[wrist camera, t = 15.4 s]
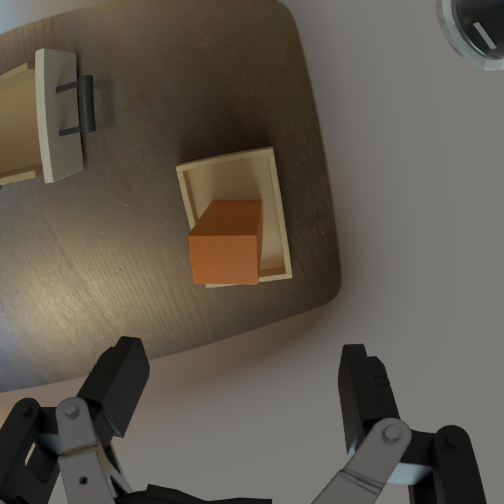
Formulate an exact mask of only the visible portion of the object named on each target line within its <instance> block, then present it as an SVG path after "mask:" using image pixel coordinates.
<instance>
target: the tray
mask: <svg viewBox="0 0 504 504" xmlns="http://www.w3.org/2000/svg"><path fill="white" fill-rule="evenodd" d="M176 171H177V175H178V179H179V184H180V188H181V192H182V196H183V200H184V204H185V209H186V213H187V217H188V221H189V224H190V228H191V230H192V229H193V227H194V226H195V224H196V223H197V221H198V220H199V219H200V217H201V216H202V214H203V213H204V211H205V210H206V208H207V207H208V205H209V204H210V203H211V201H221V200H262V218H263V242H262V253H261V263H260V273H259V282H263V281H271V280H279V279H287V278H292V277H293V276H292V266H291V259H290V252H289V245H288V238H287V231H286V225H285V218H284V211H283V205H282V198H281V192H280V186H279V180H278V173H277V167H276V161H275V155H274V150H273V146H270V147H264V148H258V149H252V150H246V151H240V152H234V153H229V154H223V155H218V156H213V157H208V158H203V159H198V160H193V161H189V162H184V163H181V164H179V165H177V166H176ZM205 285H206V288H212V287H221V286H229V285H238V284H205Z"/></svg>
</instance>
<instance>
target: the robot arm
mask: <svg viewBox="0 0 504 504" xmlns="http://www.w3.org/2000/svg"><path fill="white" fill-rule="evenodd" d="M452 15H453V19H454V22H455V25H456V27H457V29H458V31H459V33H460V35H461V36H462V38H463V39H464V41H465V42H466V43H467V44H468V45H469V46H470V47H471V48H472V49H473V50H474V51H475V52H476V53H478V54H479V55H481V56H482V57H484V58H487V59H490V60H500V59H504V0H453V1H452ZM149 373H150V366H149V362H148V359H147V356H146V353H145V350H144V347H143V344H142V341H141V339H140V338H136V337H127V336H122V337H121V338H120V339H119V341H118V342H117V344H116V346H115V347H110V348H109V349H107V350H106V351H105V352H104V353H102V355H101V356H100V358H99V359H98V361H97V363H96V365H95V366H94V367H93V369H92V372H90V374H89V376H88V378H87V379H86V381H85V382H84V384H83V386H82V387H81V389H80V391H79V392H78V394H77V396H76V397H71V398H67V399H65V400H63V401H62V402H61V403H60V404H59V405H58V406H57V407H41V406H40V405H39V403H38V402H37V401H36V400H35V399H33V398H24V399H22V400H20V401H18V402H17V403H16V404H15V406H14V407H13V409H12V410H11V412H10V414H9V415H8V417H7V419H6V420H5V422H4V424H3V426H2V427H1V429H0V504H48V501H49V499H50V496H51V493H52V490H53V488H54V485H55V483H56V480H57V477H58V475H59V473H60V472H61V476H62V480H63V484H64V488H65V492H66V495H67V499H68V503H69V504H272V499H256V498H233V499H225V500H215V501H205V500H201V499H199V498H196V497H194V496H191V495H189V494H186V493H183V492H181V491H179V490H176V489H171V488H165V487H161V486H156V485H151V484H148V486H147V489H146V490H144V491H136V492H133V490H132V489H131V487H130V485H129V484H128V482H127V480H126V478H125V476H124V474H123V471H122V469H121V466H120V464H119V461H118V459H117V456H116V453H115V451H114V448H113V445H112V443H111V439H112V437H113V436H117V437H121V438H123V437H124V434H125V432H126V430H127V427H128V425H129V422H130V420H131V418H132V415H133V413H134V411H135V408H136V406H137V403H138V401H139V399H140V397H141V394H142V392H143V389H144V387H145V385H146V383H147V380H148V378H149ZM338 389H339V396H340V402H341V410H342V417H343V425H344V432H345V441H346V449H347V455H353V456H352V457H351V459H350V460H349V462H348V463H347V464H346V465H345V467H344V468H343V469H342V470H339V472H337V474H336V475H335V476H334V477H333V478H332V480H331V481H330V482H329V483H328V485H327V486H326V487H325V488H324V489H323V491H322V492H321V493H320V494H319V495H318V496H317V497H316V498H315V500H314V501H313V502H312V503H311V504H374V502H375V501H376V499H377V498H378V496H379V495H380V493H381V492H382V490H383V487H384V486H385V484H386V482H390V483H399V484H406V485H408V490H409V499H410V504H487V503H486V499H485V494H484V490H483V486H482V481H481V478H480V473H479V470H478V466H477V462H476V458H475V455H474V451H473V448H472V445H471V441H470V438H469V436H468V434H467V432H466V431H465V430H464V429H462V428H461V427H458V426H455V425H448V426H444V427H442V428H441V429H439V430H438V431H437V433H427V432H419V431H415V430H412V429H410V428H409V426H408V425H407V424H406V423H405V422H403V421H402V420H401V419H400V417H399V413H398V409H397V406H396V403H395V399H394V396H393V392H392V389H391V386H390V382H389V379H388V378H387V373H386V369H385V366H384V365H383V363H382V362H381V361H380V360H379V359H378V358H377V357H376V356H372V357H367V354H366V350H365V347H364V345H363V344H347V345H344V346H343V350H342V355H341V361H340V366H339V372H338ZM33 443H34V444H35V445H36V446H35V448H34V450H33V452H32V454H31V456H30V458H29V461H28V463H27V465H25V459H26V457H27V455H28V452H29V450H30V448H31V446H32V444H33Z"/></svg>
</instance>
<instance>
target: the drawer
mask: <svg viewBox="0 0 504 504" xmlns="http://www.w3.org/2000/svg"><path fill="white" fill-rule="evenodd" d="M77 87H78V88H79V107H80V121H81V126H79V117H78V102H77ZM93 131H96V127H95V115H94V99H93V76H92V75H85V76H81V77H79V78H78V80H77V79H76V53H73V52H68V51H62V50H56V49H50V48H42V49H40V50H38V51H36V53H35V63H32V62H27V63H25V64H22V65H20V66H18V67H16V68H14V69H12V70H10V71H8V72H6V73H4V74H2V75H1V76H0V185H3V184H8V183H12V182H17V181H22V180H27V179H32V178H36V177H39V176H41V175H44V180H45V183H50V182H55V181H57V180H59V179H62V178H64V177H67V176H69V175H72V174H74V173H77V172H79V171H82V170H84V165H83V157H82V148H81V139H80V132H82V134H83V133H88V132H93Z"/></svg>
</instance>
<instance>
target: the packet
mask: <svg viewBox="0 0 504 504" xmlns="http://www.w3.org/2000/svg"><path fill="white" fill-rule="evenodd" d="M262 242H263V218H262V200H221V201H211V203H210V204H209V205H208V207H207V208H206V210H205V211H204V213H203V214H202V216H201V217H200V219H199V220H198V221H197V223H196V224H195V226H194V227H193V229H192V230H191V232H190V233H189V235H188V243H189V251H190V259H191V267H192V274H193V282H194V284H258V283H259V273H260V263H261V253H262Z"/></svg>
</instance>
